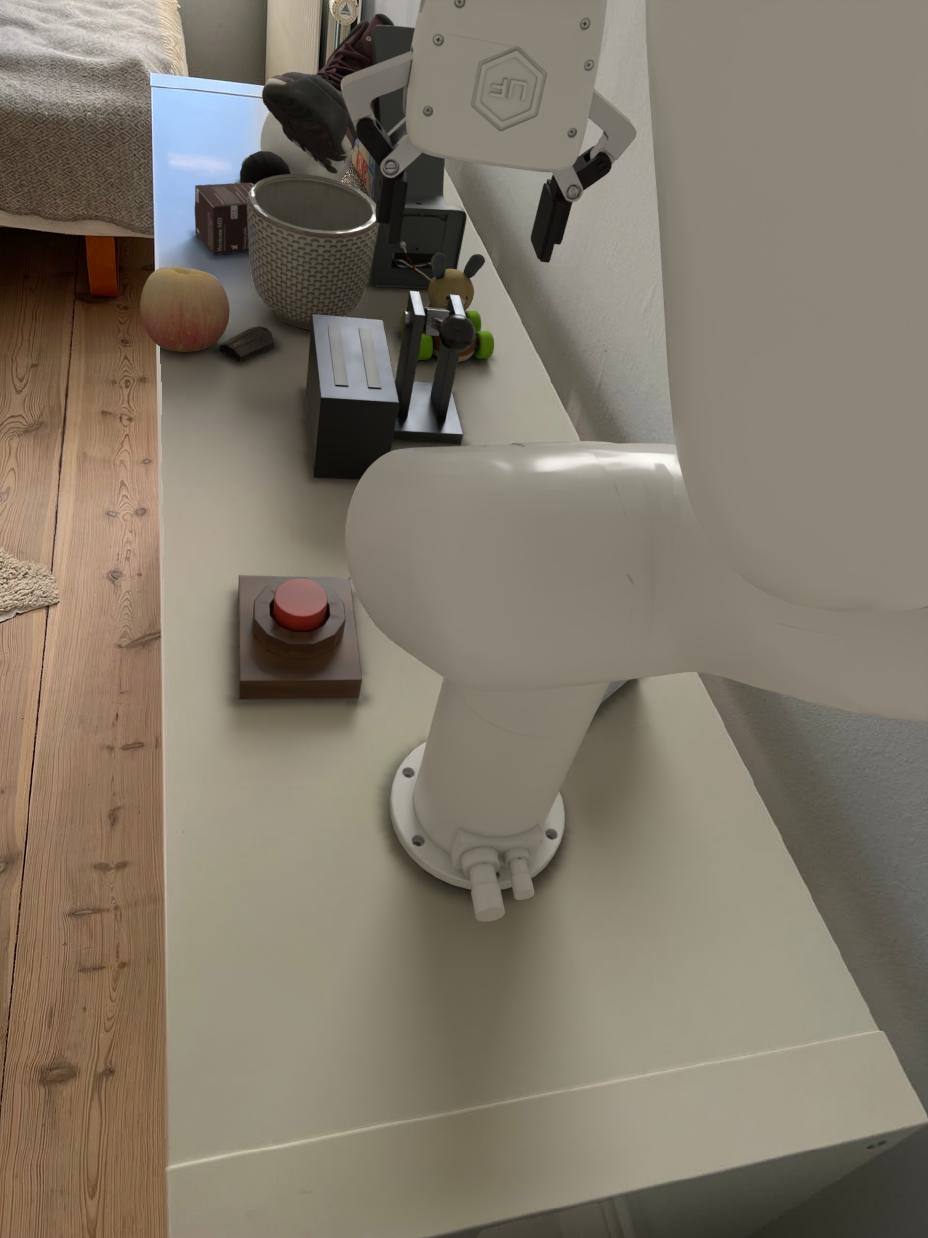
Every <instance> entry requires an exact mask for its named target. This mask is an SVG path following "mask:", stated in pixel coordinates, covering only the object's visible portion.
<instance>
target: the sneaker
mask: <svg viewBox="0 0 928 1238" xmlns="http://www.w3.org/2000/svg"><path fill="white" fill-rule="evenodd" d="M376 25H389V26H395V24H394V21H392V20H391V18H389V17H388V16H387V15H386V14H383V13H376V14H375V15H374V16H373V17H372V19H370V22H369V20H367V19H365V20H361V21H360V22H358V23H357V24H356V25H355V26H354V27H353V28H352V29H351V30H350V32H349V33H348V34H347V35H346V37H345V38H344V39H343V40H342V41H341V42H340V43H339V45H338V46H337V47H336V48H335V49H334V50H333V52H332V53H331V55H330V56H329V57H328V58H327V59H326V63H325V64H324V65H323V67H322V68H321V69H320V70H319V71H318V72H317V73H315V74H314V73H313V74H311V73H302V72H297V71H291V72H285V73H282V74H276V75H273V76H272V77H269V78H268V80H267V81H266V82H265V85H264V86H263V88H262V90H261V91H262V92H261V98H262V102H263V105H264V106H265V107H266V108H267V110H268V112H271V113H272V115H274V117H275V118H276V119H277V120H278V121H279V123H280V124H281V125H282V130H283V132H284V134H285V135H286V136H287V138H288V139H289V140H290V141H292V142H294V144H295V145H296V146H298V147H299V148H302V150H303V151H304V152H307V154H308V155H310V156H311V157H313V158H314V160H315V161H317V162H319V164H320V165H321V166H322V167H324V168H326V170H327V171H329V172H330V173H333V174H335V173H338V172H340V171H341V170H342V169H343V167H344V165H345V159H346V158H348V157H350V156H351V155H352V153H353V151H354V147H355V141H356V140H357V138H358V137H357V133H356V130H355V128H354V125H353V122H352V120H351V117H350V115H349V112H348V109H347V107H346V104H345V101H344V99H343V96H342V89H341V81H342V79H343V78H344V77H345V76H347V75H349V74H352V73H355V72H357V71H360V70H362V69H365V68H368V67H370V66H373V60H372V46H371V36H370V33H371V31H372V29H373V28H374V26H376ZM375 100H376V98H375V99H373V100H372V102H371V105H370V106H371V109H372V112H373V115H374V103H375Z"/></svg>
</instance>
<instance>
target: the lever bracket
mask: <svg viewBox="0 0 928 1238" xmlns="http://www.w3.org/2000/svg"><path fill="white" fill-rule="evenodd" d="M423 307H424V305H423V301H422V297H421V294H420V291H417V290H416V291H414V290H409V291H408V296H407V303H406V311H405V310H404V311H405V312H404V315H403V326H404V328H403V334H402V333H401V340H400V347H399V354H398V360H397V365H396V366H397V367H396V372H395V377H394V380H395V385H396V390H397V395H398V400H399V406H398V412H397V418H396V424H395V430H394V436H393V441H403V442H404V441H405V442H406V441H407V442H423V443H441V444H462V442H463V437H464V433H463V428H462V425H461V421H460V417H459V414H458V409H457V405H456V401H455V397H454V394H453V387H454V382H455V378H456V372H457V367H458V364H459V362H458V358H459V354H460V352H452V351H449V350H448V349H446V348H445V347H444V346H443V345H442V343H440V348H439V353H438V357H437V359H436V364H435V365H436V366H435V370H434V375H433V380H432V382H426V381H415V378H416V373H417V372H416V371H417V366H418V361H419V360H418V355H419V349H420V343H421V338H422V332H423V326H424V320H425V313H424V309H423ZM447 310H448V311H450V314H449V316H451V315H454V314H460V315H464V316H466V315H465V312H464V309H463V306H462V302H461V299H460V296H459V295H449V301H448V306H447Z"/></svg>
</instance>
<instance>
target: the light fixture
mask: <svg viewBox="0 0 928 1238" xmlns="http://www.w3.org/2000/svg"><path fill="white" fill-rule="evenodd" d="M414 30H415V27H413V26H412V27H411V26H404V25H403V26H402V25H394V26H389V25H376V26H374V28H373V29H372V31H371V33H370V36H371V46H372V60H373V65H376V64H378V63H381V62H383V61H386V60H389V59H391V58H394V57H396V56H399V55H402V54H404V53H407V52H410V50H411V45H412V40H413V35H414ZM403 92H404V87H403V88H401V89H398V90H395V91H393V92H390V93H387V94H385V95H382V96H380V97H377V98H376V100H375V103H374V116H375V118H376V119H377V121H378V122H379V123H380V125H381V126H382V127H383V129H384V130H385V131H386V133H389V132H390V131H391V130H392V129H393V128H394V127H395V126H396V125H397V124H398V123H399V122H400V121H401V120H402V119H403V118H404V117H405V115H404V113H403ZM445 163H446V159H444V158H438V157H434V156H430V155H427V154H425V153H422V154H420V155H419V156H418V157H417V158H416V159H415V160H414V161H413V162H412V163H411V164H410V165H409V166H407V167H406V168H405V172H406V176H407V181H408V188H407V195H406V202H405V208H404V215H403V222H402V229H401V236H400V242H399V243H396V245H393V244H387V239H386V233H385V227H384V223H379V228H378V234H377V240H376V244H375V250H374V255H373V260H372V265H371V269H370V273H369V278H368V281H369V282H370V285H372V287H375V288H403V289H406V288H408V289H411V288H412V289H428V287H429V284H430V282H431V280H432V279H433V277H434V274H433V270H432V265H431V259H432V257H433V256H434V255H435V254H437V253H443V254H444V256H445V262H446V269H456V270H458V266H459V261H460V256H461V250H462V246H463V240H464V235H465V230H466V225H467V220H468V219H467V217H468V216H467V213H466V211H465V209H464V207H461V206H456V205H448V203H447V202H446V200H445V196H444V185H445V184H444V182H445ZM380 170H381V169H380V167H379V165H378V164H377V163H376V161H375V174H374V193H373V201H374V202H375V204H376V202H377V194H378V186H379V178H380Z"/></svg>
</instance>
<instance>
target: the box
mask: <svg viewBox="0 0 928 1238" xmlns="http://www.w3.org/2000/svg"><path fill="white" fill-rule="evenodd" d="M252 186H253V184H252V183H240V182H234V183H216V184H215V183H214V184H196V185H195V186H194V225H195V226H194V227H195V235H196V236H197V238H199V239H200V241H201V242H202V243H203V244H204V246H205V247H206V248H207V249H208V250H209V252H210V253H211V254H212V255H213V256H218V255H229V254H238V253H249V249H248V225H247V198H248V193H249V191H250V189H251V187H252Z"/></svg>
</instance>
